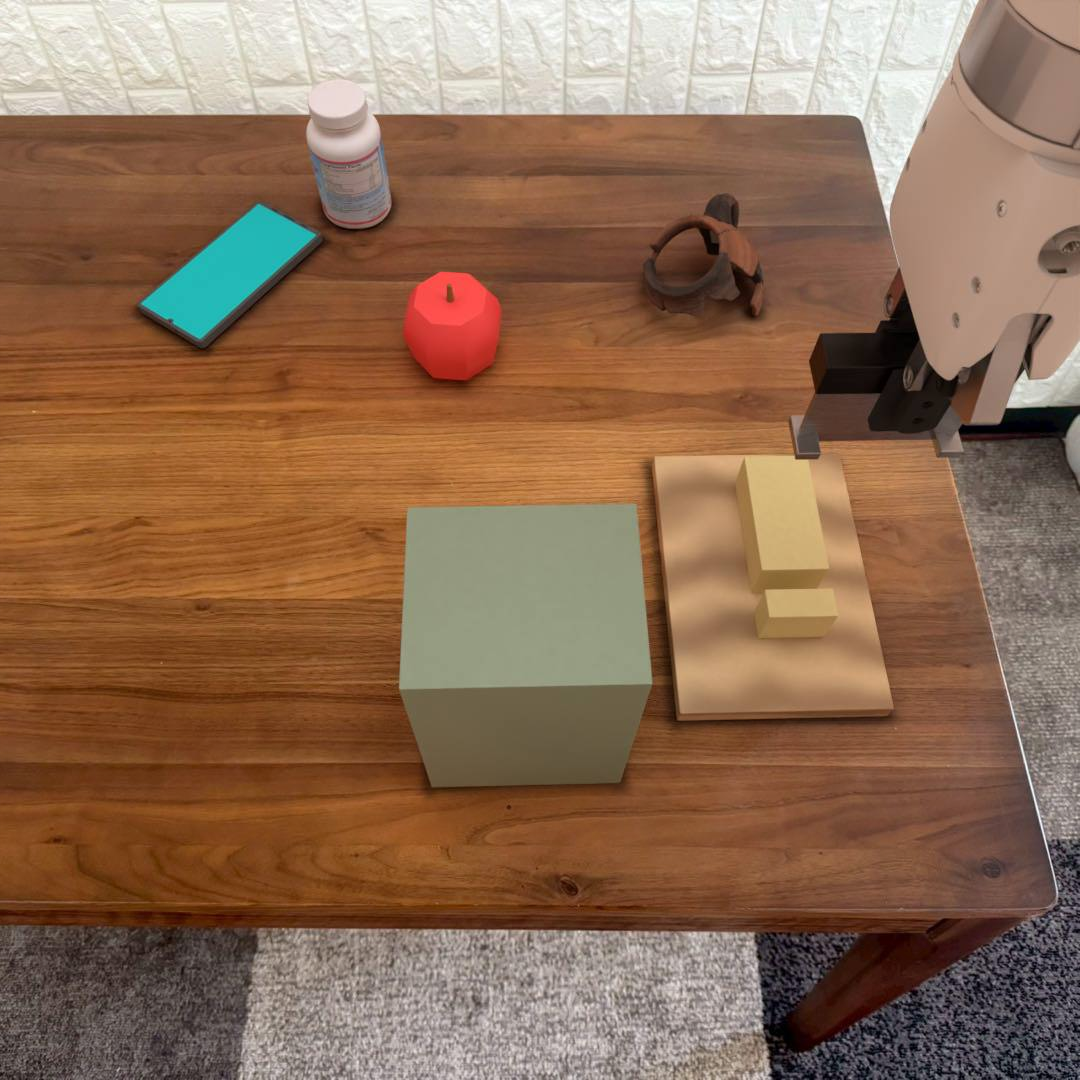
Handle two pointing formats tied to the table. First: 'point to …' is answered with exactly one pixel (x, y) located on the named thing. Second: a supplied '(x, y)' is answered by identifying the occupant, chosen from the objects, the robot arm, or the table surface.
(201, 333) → the smartphone
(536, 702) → the stand
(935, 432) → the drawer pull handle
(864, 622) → the board
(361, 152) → the pill bottle
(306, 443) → the table surface
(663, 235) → the broken pottery vessel
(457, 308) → the apple
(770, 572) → the butter stick
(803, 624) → the butter slice
